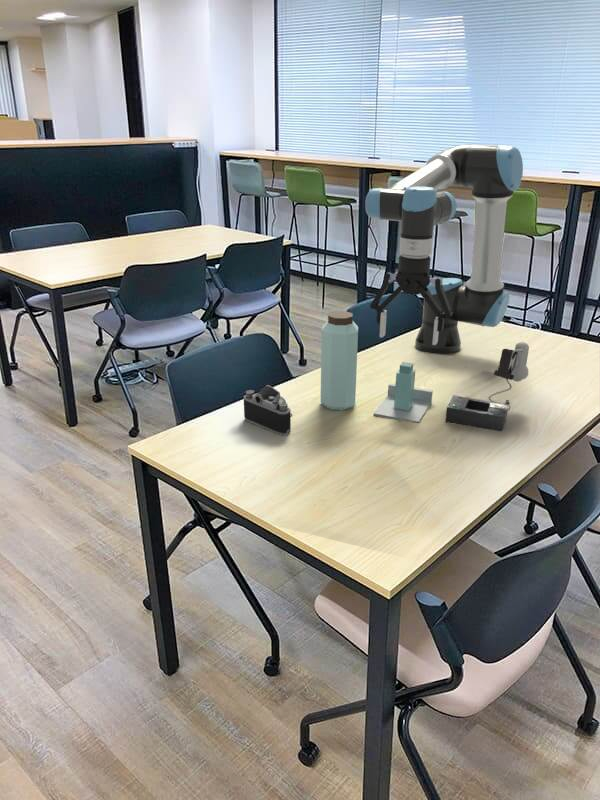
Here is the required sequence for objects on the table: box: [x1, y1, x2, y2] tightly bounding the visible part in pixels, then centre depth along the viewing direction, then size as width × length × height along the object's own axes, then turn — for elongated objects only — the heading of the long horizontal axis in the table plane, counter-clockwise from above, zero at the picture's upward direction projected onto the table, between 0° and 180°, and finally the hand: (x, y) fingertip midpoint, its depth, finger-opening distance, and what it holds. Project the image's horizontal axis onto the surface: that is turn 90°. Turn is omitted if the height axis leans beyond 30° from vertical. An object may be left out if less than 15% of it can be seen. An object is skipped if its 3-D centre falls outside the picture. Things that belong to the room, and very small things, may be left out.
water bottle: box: [320, 310, 359, 411], centre depth 166 cm, size 10×10×25 cm
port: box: [444, 395, 512, 432], centre depth 160 cm, size 8×15×5 cm, turn 66°
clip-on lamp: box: [488, 341, 530, 405], centre depth 165 cm, size 12×6×18 cm, turn 135°
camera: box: [243, 384, 293, 436], centre depth 159 cm, size 16×8×10 cm, turn 48°
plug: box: [394, 361, 416, 411], centre depth 165 cm, size 4×4×12 cm
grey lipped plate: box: [373, 383, 433, 424], centre depth 167 cm, size 14×12×4 cm
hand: (408, 339), depth 160 cm, fingers open, 13 cm apart
